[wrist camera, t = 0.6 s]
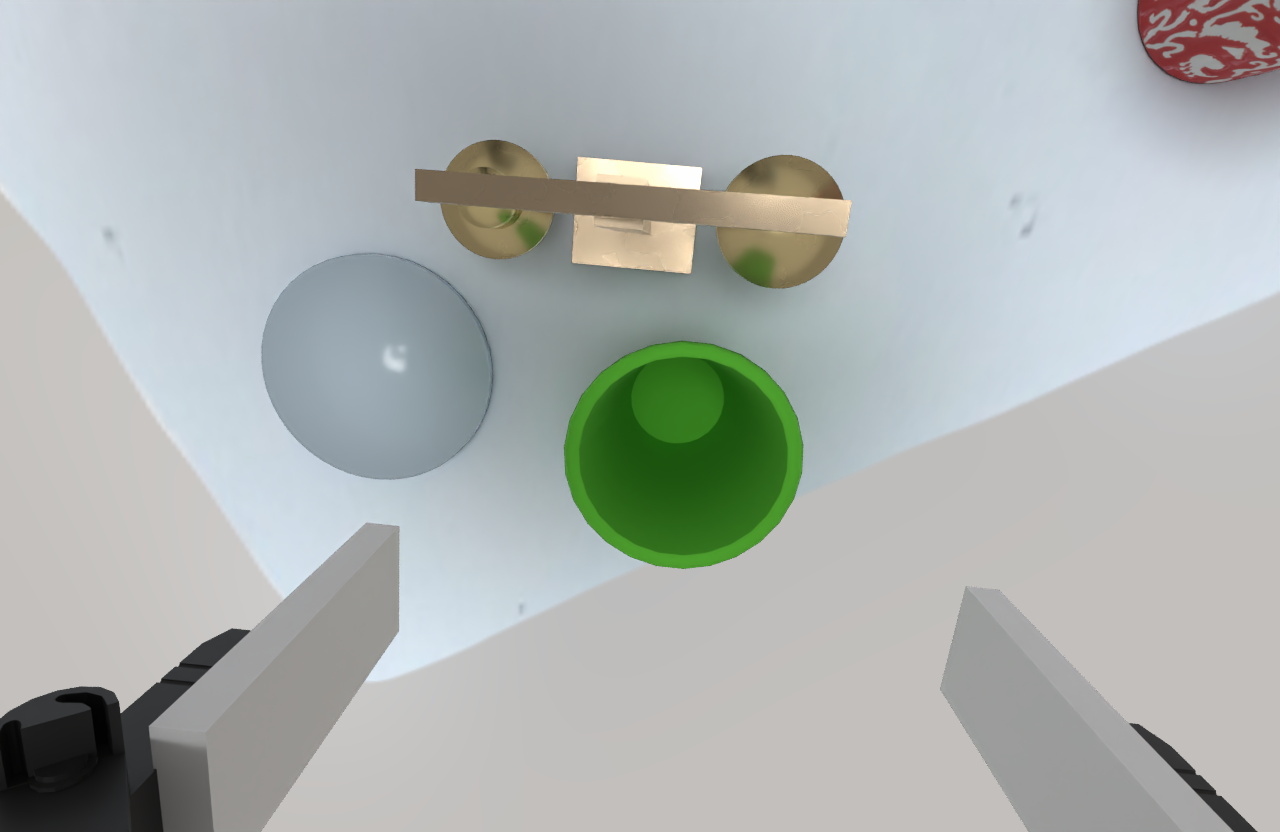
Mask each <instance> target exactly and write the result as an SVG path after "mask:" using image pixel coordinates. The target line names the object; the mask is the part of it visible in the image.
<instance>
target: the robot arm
mask: <svg viewBox="0 0 1280 832" xmlns="http://www.w3.org/2000/svg"><path fill="white" fill-rule="evenodd" d="M398 631H399V526H392V525H382V524H373V523H366V524H365V525H364V526H363V527H362V528H361V529H359V530H358V531H357V532H356V533H355V534H354V535H353V536H352V537H351V538H350V539H349V540H348V541H347V542H346V543H344V544H343V545H342V546H341V547H340V548H339V549H338V550H337V551H336V552H335V553H334V554H333V555H332V556H331V557H329V558H328V559H327V560H326V561H325V562H324V563H323V564H322V565H321V566H320V567H319V568H318V569H317V570H316V571H314V572H313V573H312V574H311V575H310V576H309V577H308V578H307V579H306V580H305V581H304V582H303V583H302V584H301V585H300V586H298V587H297V588H296V589H295V590H294V591H293V592H292V593H291V594H290V595H289V596H288V597H287V598H286V599H285V600H283V601H282V602H281V603H280V604H279V605H278V606H277V607H276V608H275V609H274V610H273V611H272V612H271V613H270V614H269V615H267V616H266V617H265V618H264V619H263V620H262V621H261V622H260V623H259V624H258V625H257V626H256V627H255V628H254V629H252V630H251V631H250V630H241V629H230V630H228V631H226V632H224V633H222V634H220V635H218V636H216V637H214V638H212V639H211V640H208V641H206V642H204V643H202V644H201V645H200V646H199V647H198V648H196V649H195V650H194V651H193V652H192V653H191V654H190V655H188V656H187V657H186V658H185V659H184V660H183V661H181V662H180V665H179V667H174V668H173V669H172V670H171V671H170V672H169V673H168V674H166V675H165V676H164V677H163V678H162V679H161V682H160V683H156V684H155V685H154V686H152V687H151V688H150V689H149V690H148V691H147V692H145V693H144V694H143V695H142V696H141V697H140V698H139V699H137V700H136V701H135V702H134V703H133V704H132V705H130V706H129V707H128V708H127V709H126V710H125V711H123V712H122V713H121V714H120V707H119V701H118V699H117V697H116V695H115V693H114V692H112V691H109V690H106V689H104V688H101V687H76V688H70V689H64V690H58V691H55V692H52V693H49V694H46V695H43V696H40V697H37V698H34V699H32V700H30V701H28V702H26V703H24V704H22V705H20V706H18V707H16V708H14V709H13V710H11V711H9V712H8V713H6V714H5V715H4V716H3V717H2V718H0V832H261V831H262V829H263V828H264V827H265V825H266V824H267V822H268V821H269V819H270V818H271V816H272V815H273V813H274V812H275V811H276V809H277V808H278V806H279V805H280V803H281V802H282V800H283V799H284V797H285V796H286V794H287V793H288V791H289V790H290V789H291V787H292V785H293V784H294V783H295V781H296V780H297V778H298V777H299V776H300V774H301V773H302V771H303V770H304V768H305V767H306V765H307V764H308V762H309V761H310V759H311V758H312V757H313V755H314V754H315V752H316V751H317V749H318V748H319V746H320V745H321V744H322V742H323V741H324V739H325V738H326V736H327V735H328V733H329V732H330V730H331V729H332V727H333V726H334V725H335V723H336V722H337V720H338V719H339V717H340V716H341V714H342V713H343V712H344V710H345V709H346V707H347V706H348V704H349V703H350V701H351V700H352V698H353V697H354V695H355V694H356V693H357V691H358V690H359V688H360V687H361V685H362V684H363V682H364V681H365V680H366V678H367V677H368V675H369V674H370V672H371V671H372V669H373V668H374V666H375V665H376V663H377V662H378V661H379V659H380V658H381V656H382V655H383V653H384V652H385V650H386V649H387V647H388V646H389V645H390V643H391V642H392V640H393V639H394V637H395V636H396V634H397V633H398ZM940 690H941V691H942V693H943V695H944V696H945V698H946V699H947V701H948V703H949V704H950V706H951V708H952V709H953V711H954V712H955V714H956V715H957V717H958V718H959V720H960V722H961V724H962V725H963V727H964V728H965V730H966V732H967V733H968V735H969V737H970V738H971V739H972V741H973V743H974V745H975V746H976V748H977V749H978V751H979V753H980V754H981V756H982V757H983V759H984V760H985V762H986V764H987V766H988V767H989V769H990V770H991V772H992V774H993V775H994V777H995V778H996V780H997V782H998V783H999V785H1000V786H1001V788H1002V790H1003V791H1004V793H1005V795H1006V796H1007V798H1008V799H1009V801H1010V803H1011V804H1012V806H1013V807H1014V809H1015V811H1016V812H1017V814H1018V815H1019V817H1020V819H1021V820H1022V822H1023V823H1024V825H1025V827H1026V828H1027V830H1028V831H1029V832H1257V831H1256V830H1255V829H1254V828H1253V827H1252V826H1251V825H1250V824H1249V823H1248V822H1247V821H1246V820H1245V819H1244V818H1243V817H1242V816H1241V815H1240V814H1239V813H1238V812H1237V811H1236V810H1235V809H1234V808H1233V807H1232V806H1231V805H1230V804H1229V803H1228V802H1227V801H1226V800H1224V798H1223V797H1222V796H1217V795H1216V790H1214V788H1213V787H1212V786H1211V785H1210V784H1209V783H1207V782H1206V780H1204V779H1203V777H1202V776H1200V775H1196V773H1195V770H1194V769H1193V768H1192V767H1191V766H1190V765H1189V764H1188V763H1187V762H1186V761H1185V760H1184V759H1183V758H1182V757H1181V756H1180V755H1179V754H1178V753H1177V752H1176V751H1175V750H1174V749H1173V748H1172V747H1171V746H1170V745H1168V744H1167V743H1165V742H1164V741H1163V740H1161V739H1160V738H1158V737H1156V736H1155V735H1154V734H1152V733H1151V732H1149V731H1148V730H1146V729H1145V728H1143V727H1142V726H1140V725H1139V724H1132V723H1128V722H1127V721H1126V720H1125V719H1124V718H1123V717H1122V716H1121V715H1120V714H1119V713H1118V712H1117V711H1116V710H1115V709H1114V708H1113V707H1112V706H1111V705H1110V704H1109V703H1108V702H1107V701H1106V700H1105V699H1104V697H1103V696H1101V694H1100V693H1099V692H1098V691H1097V690H1095V688H1094V687H1093V686H1092V685H1091V684H1090V683H1089V682H1088V681H1087V680H1086V679H1085V678H1084V677H1083V676H1082V675H1081V674H1080V673H1079V672H1078V671H1077V670H1076V669H1075V668H1074V667H1073V665H1072V664H1071V663H1070V662H1069V661H1067V659H1066V658H1065V657H1064V656H1063V655H1062V654H1061V653H1060V652H1059V651H1058V650H1057V649H1056V648H1055V647H1054V646H1053V645H1052V644H1051V643H1050V642H1049V641H1048V640H1047V639H1046V638H1045V637H1044V636H1043V635H1042V634H1041V633H1040V631H1038V630H1037V629H1036V627H1035V626H1034V625H1033V624H1032V623H1031V622H1030V621H1029V620H1028V619H1027V618H1026V617H1025V616H1024V615H1023V614H1022V613H1021V612H1020V611H1019V610H1018V609H1017V608H1016V607H1015V606H1014V605H1013V604H1012V603H1011V602H1010V601H1009V600H1008V598H1006V596H1005V595H1004V594H1003V593H1002V592H1001V591H1000V590H996V589H986V588H977V587H968V586H966V588H965V591H964V595H963V599H962V603H961V607H960V611H959V615H958V619H957V623H956V628H955V631H954V635H953V640H952V643H951V647H950V651H949V655H948V659H947V663H946V668H945V671H944V676H943V679H942V683H941V687H940Z"/></svg>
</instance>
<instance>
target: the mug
mask: <svg viewBox="0 0 1280 832" xmlns="http://www.w3.org/2000/svg"><path fill="white" fill-rule="evenodd" d="M1138 23H1139V31H1140V33H1141V38H1142V40H1143V43H1144V46H1145V48H1146V50H1147V52H1148V53H1149V55H1150V56H1151V58H1152V59H1153V60H1154V62H1155V63H1156V64H1157V65H1159V66H1160V67H1161V68H1162V69H1163V70H1165V71H1166V72H1167V73H1168V74H1170V75H1172V76H1174V77H1176V78H1178V79H1181V80H1185V81H1188V82H1193V83H1219V82H1226V81H1231V80H1236V79H1241V78H1244V77H1248V76H1254V75H1259V74H1262V73H1266V72H1271V71H1275V70H1279V69H1280V0H1139V5H1138Z"/></svg>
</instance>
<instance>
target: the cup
mask: <svg viewBox="0 0 1280 832" xmlns="http://www.w3.org/2000/svg"><path fill="white" fill-rule="evenodd" d="M564 456H565V474H566V478H567V481H568V484H569V487H570V490H571V494H572V497H573V500H574V502H575V503H576V505H577V507H578V508H579V510H580V512H581V513H582V515H583V517H584V518H585V520H586V521H587V523H588V524H589V525H590V526H591V527H592V528H593V529H594V530H595V531H596V532H597V533H598V534H599V535H600V536H601V537H602V538H603V539H604V540H605V541H606V542H607V543H609V544H610V545H612V546H613V547H615V548H617V549H618V550H620V551H622V552H623V553H625V554H626V555H628V556H630V557H632V558H635V559H638V560H641V561H644V562H647V563H650V564H653V565H656V566H662V567H672V568H681V569H686V568H695V567H704V566H711V565H714V564H717V563H720V562H723V561H726V560H729V559H732V558H734V557H737V556H738V555H740V554H742V553H743V552H745V551H746V550H748V549H750V548H751V547H753V546H754V545H756V544H758V543H759V542H761V541H762V540H763V539H764V538H765V537H766V536H767V535H768V534H769V533H770V532H771V531H772V529H774V528H775V527H776V525H778V524H779V523H780V521H781V519H782V518H783V516H784V514H785V513H786V511H787V509H788V508H789V506H790V505H791V503H792V501H793V500H794V497H795V494H796V491H797V487H798V484H799V481H800V477H801V474H802V461H803V442H802V437H801V432H800V428H799V423H798V419H797V416H796V414H795V412H794V410H793V408H792V406H791V404H790V402H789V400H788V398H787V396H786V395H785V393H784V391H783V390H782V389H781V388H780V387H779V386H778V385H777V383H776V382H775V381H774V380H773V379H772V378H771V377H770V376H769V374H768V373H767V372H766V371H765V370H763V369H762V368H760V367H759V366H757V365H756V364H754V363H753V362H751V361H750V360H749V359H747V358H746V357H744V356H743V355H741V354H739V353H736V352H733V351H730V350H728V349H725V348H722V347H719V346H717V345H714V344H708V343H698V342H689V341H677V342H670V343H663V344H655V345H651V346H648V347H646V348H643V349H641V350H638V351H636V352H633V353H631V354H628V355H626V356H624V357H622V358H621V359H619V360H618V361H617V362H615V363H614V364H612V365H611V366H610V367H608V368H607V369H605V370H604V371H603V372H601V373H600V374H599V375H598V377H597V378H596V379H595V380H594V381H593V382H592V384H591V385H590V386H589V387H588V388H587V390H586V391H585V392H584V393H583V394H582V396H581V398H580V400H579V402H578V404H577V406H576V408H575V410H574V412H573V414H572V416H571V418H570V421H569V425H568V430H567V435H566V440H565V445H564Z"/></svg>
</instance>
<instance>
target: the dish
mask: <svg viewBox="0 0 1280 832" xmlns="http://www.w3.org/2000/svg"><path fill="white" fill-rule="evenodd" d="M262 369H263V376H264V380H265V384H266V388H267V391H268V394H269V397H270V399H271V402H272V404H273V406H274V408H275V410H276V412H277V414H278V415H279V417H280V419H281V420H282V422H283V423H284V425H285V426H286V427H287V429H288V430H289V431H290V432H291V434H292V435H293V436H294V437H295V438H296V439H297V440H298V441H299V442H300V443H301V444H302V445H303V446H304V447H305V448H306V449H307V450H308V451H310V452H311V453H312V454H314V455H315V456H317V457H318V458H319V459H321V460H322V461H324V462H326V463H328V464H330V465H331V466H333V467H335V468H338V469H340V470H342V471H345V472H347V473H350V474H354V475H357V476H361V477H366V478H373V479H389V480H391V479H402V478H408V477H412V476H416V475H420V474H422V473H425V472H428V471H430V470H432V469H434V468H436V467H438V466H440V465H442V464H443V463H445V462H446V461H447V460H449V459H450V458H451V457H453V456H454V455H455V454H456V453H457V452H458V451H459V450H460V449H461V448H462V447H463V446H464V445H465V444H466V443H467V442H468V441H469V440H470V438H471V437H472V436H473V434H474V433H475V432H476V431H477V429H478V427H479V425H480V423H481V422H482V420H483V418H484V415H485V413H486V410H487V408H488V404H489V400H490V396H491V390H492V379H493V378H492V361H491V355H490V350H489V346H488V343H487V340H486V336H485V334H484V332H483V329H482V327H481V325H480V323H479V321H478V319H477V318H476V316H475V314H474V313H473V311H472V309H471V308H470V307H469V305H468V304H467V303H466V301H465V300H464V299H463V298H462V296H461V295H460V294H459V293H458V292H457V291H456V290H455V289H454V288H453V287H452V286H451V285H449V284H448V283H447V282H446V281H444V280H443V279H442V278H440V277H439V276H438V275H436V274H434V273H433V272H431V271H429V270H428V269H426V268H424V267H422V266H420V265H418V264H415V263H413V262H411V261H408V260H404V259H401V258H397V257H393V256H386V255H376V254H359V255H349V256H341V257H337V258H334V259H330V260H327V261H324V262H322V263H319V264H317V265H315V266H313V267H311V268H310V269H308V270H306V271H305V272H303V273H302V274H300V275H299V276H298V277H297V278H296V279H294V280H293V281H292V282H291V283H290V284H289V285H288V286H287V287H286V289H285V290H284V291H283V292H282V293H281V295H280V296H279V298H278V299H277V301H276V302H275V304H274V305H273V308H272V310H271V312H270V314H269V317H268V319H267V322H266V326H265V329H264V333H263V340H262Z"/></svg>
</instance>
